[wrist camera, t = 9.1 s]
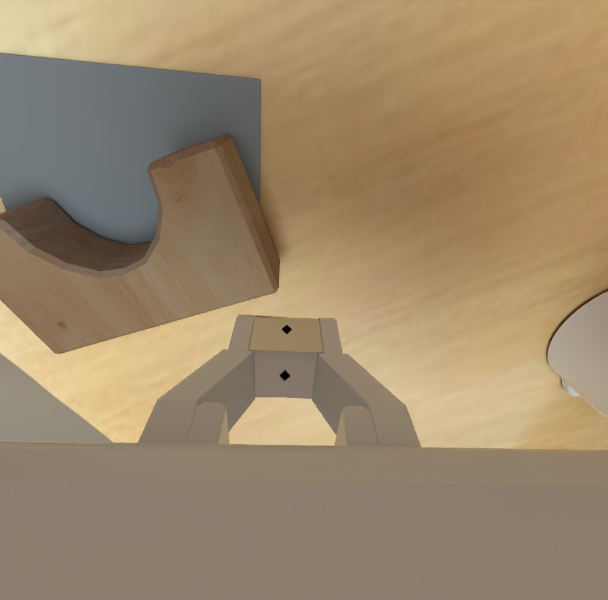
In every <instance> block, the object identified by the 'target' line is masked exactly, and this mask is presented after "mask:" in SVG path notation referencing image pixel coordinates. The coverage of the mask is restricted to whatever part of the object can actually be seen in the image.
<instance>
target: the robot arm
mask: <svg viewBox="0 0 608 600" xmlns="http://www.w3.org/2000/svg"><path fill="white" fill-rule="evenodd" d="M548 363H549V366H550V367H551V369H552V370H553V371H554V372H555V373H556V374H557V375H559V376H560V377H561V379H562V387H563V389H564V390H565V391H566V392H567V393H568V394H569V395H571V396H581V397H582V398H583V399H584V400H586V401H587V402H588V403H589V404H590V405H591V406H593V407H594V408H595V409H596V410H597V411H598V412H600V413H601V414H602V415H603V416H604V417H606V418H607V419H608V291H607V292H605V293H603V294H601V295H600V296H598V297H596V298H594V299H593V300H591V301H589V302H588V303H586V304H585V305H584V306H582V307H581V308H580V309H578V310H577V311H576V312H575V313H574V314H572V315H571V316H570V317H569V318H568V319H567V320H566V321H565V322H564V323H563V325H562V326H561V327H560V328H559V330H558V331H557V332H556V334H555V335H554V337H553V339H552V341H551V343H550V346H549V349H548ZM255 397H288V398H307V399H312V401H313V402H314V404H315V405H316V407H317V408H318V410H319V411H320V412H321V414H322V415H323V417H324V418H325V420H326V421H327V423H328V424H329V425H330V427H331V428H332V430H333V431H334V433H335V434H336V441H335V445H334V446H309V445H245V444H229V433H228V432H229V431H230V430H231V428H232V427H233V426H234V425H235V423H236V422H237V421H238V420H239V418H240V417H241V416H242V415H243V413H244V412H245V411H246V410H247V408H248V407H249V406H250V405H251V403H252V402H253V401H254V400H255ZM0 600H608V450H566V449H501V448H438V447H421V445H420V443H419V440H418V437H417V434H416V432H415V429H414V426H413V423H412V421H411V418H410V415H409V412H408V410H407V407H406V406H405V405H404V404H403V403H402V402H401V401H400V400H399V399H398V398H396V397H395V396H394V395H393V394H392V393H391V392H390V391H389V390H388V389H386V388H385V387H384V386H383V385H382V384H381V383H380V382H379V381H377V380H376V379H375V378H374V377H373V376H372V375H371V374H370V373H368V372H367V371H366V370H365V369H364V368H363V367H362V366H361V365H359V364H358V363H357V362H356V361H355V360H354V359H353V358H352V357H350V356H349V355H348V354H343V353H342V347H341V342H340V337H339V332H338V327H337V322H336V320H335V318H319V319H312V318H287V317H273V316H257V315H255V316H254V315H238V316H237V318H236V322H235V326H234V330H233V334H232V338H231V341H230V345H229V349H228V350H222V351H221V352H220V353H218V354H217V355H216V356H214V357H213V358H212V359H210V360H209V361H208V362H206V363H205V364H204V365H202V366H201V367H200V368H199V369H197V370H196V371H195V372H193V373H192V374H191V375H189V376H188V377H187V378H185V379H184V380H183V381H181V382H180V383H179V384H178V385H176V386H175V387H174V388H172V389H171V390H170V391H168V392H167V393H166V394H164V395H163V396H162V397H160V398H159V399H158V400H157V402H156V404H155V407H154V409H153V411H152V413H151V415H150V417H149V420H148V422H147V424H146V426H145V428H144V431H143V433H142V435H141V437H140V439H139V441H138V443H114V442H108V443H107V442H49V441H43V442H42V441H0Z"/></svg>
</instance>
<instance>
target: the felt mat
mask: <svg viewBox="0 0 608 600" xmlns="http://www.w3.org/2000/svg"><path fill="white" fill-rule="evenodd" d="M223 134H228V135H230V136H232V137H233V138H234V141H235V144H236V146H237V149H238V151H239V154H240V157H241V159H242V162H243V165H244V167H245V170H246V173H247V175H248V178H249V181H250V183H251V186H252V188H253V191H254V194H255V196H256V199H257V202H258V204H259V207H260V79H252V78H242V77H232V76H222V75H212V74H202V73H192V72H182V71H172V70H162V69H152V68H142V67H132V66H122V65H111V64H101V63H91V62H81V61H71V60H61V59H51V58H41V57H31V56H21V55H11V54H1V53H0V197H1V199H2V201H3V204H4V206H5V208H6V210H7V211H9V210H12V209H15V208H18V207H21V206H23V205H26V204H29V203H32V202H35V201H37V200H40V199H43V198H45V199H49V200H52V201H53V202H54V203H55V204H56V205H57V206H58V207H59V208H60V209H61V210H62V211H63V212H64V213H65V214H66V215H67V216H68V217H69V218H70V219H71V220H72V221H73V222H74V223H75V224H77V225H78V226H80V227H82V228H84V229H86V230H88V231H89V232H91V233H93V234H95V235H97V236H99V237H100V238H103V239H107V240H110V241H114V242H118V243H121V244H125V245H135V244H143V243H149V242H151V241H153V239H154V238H155V236H156V231H157V220H158V210H159V204H158V201H157V198H156V195H155V192H154V189H153V186H152V183H151V180H150V177H149V174H148V171H147V170H148V167H149V165H150V163H151V162H154V161H156V160H158V159H160V158H162V157H164V156H167V155H169V154H171V153H173V152H175V151H178V150H181V149H184V148H187V147H190V146H192V145H195V144H198V143H201V142H204V141H207V140H209V139H212V138H215V137H218V136H221V135H223Z"/></svg>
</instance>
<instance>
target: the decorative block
mask: <svg viewBox="0 0 608 600" xmlns="http://www.w3.org/2000/svg"><path fill="white" fill-rule="evenodd" d="M147 171H148V174H149V177H150V180H151V183H152V186H153V189H154V192H155V195H156V198H157V201H158V204H159V210H158V220H157V231H156V236H155V238H154V239H153V241H151V242H149V243H143V244H135V245H125V244H121V243H118V242H114V241H110V240H107V239H103V238H100V237H99V236H97V235H95V234H93V233H91V232H89V231H88V230H86V229H84V228H82V227H80V226H78V225H77V224H75V223H74V222H73V221H72V220H71V219H70V218H69V217H68V216H67V215H66V214H65V213H64V212H63V211H62V210H61V209H60V208H59V207H58V206H57V205H56V204H55V203H54V202H53V201H52V200H49V199H45V198H43V199H40V200H37V201H35V202H32V203H29V204H26V205H23V206H21V207H18V208H15V209H12V210H9V211H6V212H4V213H1V214H0V300H1V301H2V302H3V303H4V304H5V305H6V306H7V307H8V308H9V309H10V310H11V311H12V312H13V313H14V314H15V315H16V316H17V317H18V318H19V319H20V320H21V321H22V322H23V323H24V324H26V325H27V326H28V327H29V328H30V329H31V330H32V331H33V332H34V333H35V334H36V335H37V336H38V337H39V338H40V339H41V340H42V341H43V342H44V343H45V344H46V345H47V346H48V347H49V348H50V349H51V350H52V351H53V352H54V353H55V354H61V353H65V352H68V351H72V350H75V349H79V348H82V347H85V346H89V345H92V344H96V343H99V342H103V341H106V340H110V339H113V338H117V337H120V336H124V335H128V334H131V333H135V332H138V331H142V330H145V329H149V328H152V327H156V326H160V325H163V324H167V323H170V322H174V321H177V320H181V319H184V318H188V317H191V316H194V315H198V314H201V313H205V312H208V311H212V310H215V309H219V308H222V307H226V306H230V305H233V304H237V303H240V302H244V301H247V300H251V299H254V298H258V297H261V296H265V295H269V294H272V293H276V291H277V290H278V288H279V269H280V260H279V257H278V254H277V252H276V249H275V246H274V244H273V241H272V239H271V236H270V233H269V231H268V228H267V225H266V223H265V220H264V217H263V215H262V212H261V210H260V207H259V204H258V202H257V199H256V196H255V194H254V191H253V188H252V186H251V183H250V181H249V178H248V175H247V173H246V170H245V167H244V165H243V162H242V159H241V157H240V154H239V151H238V149H237V146H236V144H235V141H234V138H233V137H232V136H230V135H228V134H223V135H221V136H218V137H215V138H212V139H209V140H207V141H204V142H201V143H198V144H195V145H192V146H190V147H187V148H184V149H181V150H178V151H175V152H173V153H171V154H169V155H167V156H164V157H162V158H160V159H158V160H156V161H154V162H151V163H150V165H149V167H148V170H147Z"/></svg>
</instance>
